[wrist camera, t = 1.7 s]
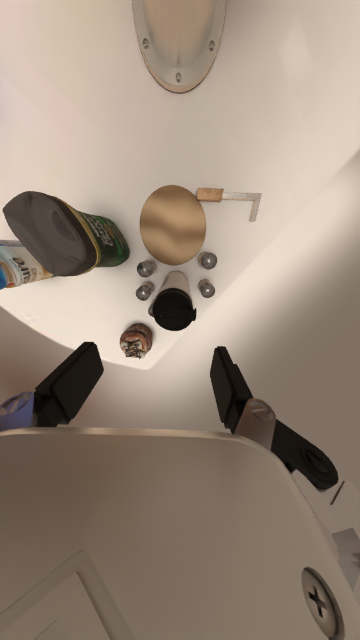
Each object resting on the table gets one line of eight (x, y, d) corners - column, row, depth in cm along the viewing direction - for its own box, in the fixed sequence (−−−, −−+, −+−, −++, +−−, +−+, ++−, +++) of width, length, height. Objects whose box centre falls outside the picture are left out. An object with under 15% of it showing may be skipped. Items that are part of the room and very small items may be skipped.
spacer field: (138, 250, 33) (129, 251, 28) (214, 252, 33) (220, 253, 28) (144, 309, 41) (139, 318, 35) (206, 310, 41) (210, 320, 35)
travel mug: (188, 294, 38) (195, 333, 21) (165, 293, 38) (151, 333, 21) (189, 270, 35) (198, 294, 18) (164, 270, 35) (148, 293, 18)
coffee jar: (135, 256, 34) (93, 264, 17) (110, 270, 35) (49, 289, 19) (111, 211, 30) (25, 167, 13) (83, 229, 31) (-24, 210, 15)
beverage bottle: (34, 232, 31) (-154, 212, 14) (70, 259, 34) (-49, 271, 16) (24, 261, 34) (-141, 275, 17) (58, 283, 37) (-54, 316, 19)
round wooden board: (136, 185, 27) (135, 184, 27) (209, 186, 28) (209, 186, 27) (143, 264, 35) (143, 264, 34) (202, 265, 35) (202, 265, 34)
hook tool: (195, 220, 30) (196, 218, 29) (197, 191, 28) (197, 188, 26) (253, 221, 30) (256, 220, 29) (259, 192, 28) (264, 189, 27)
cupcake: (120, 324, 43) (105, 344, 34) (149, 318, 42) (140, 337, 33) (132, 347, 48) (121, 370, 39) (158, 342, 46) (153, 364, 38)
